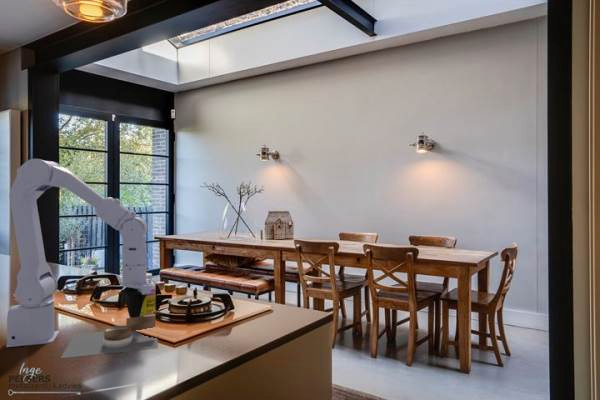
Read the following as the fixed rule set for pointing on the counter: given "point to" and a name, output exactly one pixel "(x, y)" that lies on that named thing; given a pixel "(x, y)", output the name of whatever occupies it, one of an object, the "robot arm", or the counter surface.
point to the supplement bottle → (149, 299)
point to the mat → (94, 346)
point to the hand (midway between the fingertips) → (134, 317)
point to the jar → (117, 343)
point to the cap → (129, 327)
